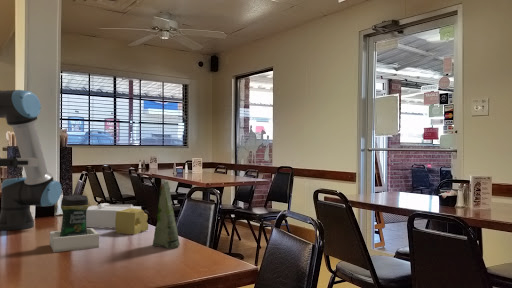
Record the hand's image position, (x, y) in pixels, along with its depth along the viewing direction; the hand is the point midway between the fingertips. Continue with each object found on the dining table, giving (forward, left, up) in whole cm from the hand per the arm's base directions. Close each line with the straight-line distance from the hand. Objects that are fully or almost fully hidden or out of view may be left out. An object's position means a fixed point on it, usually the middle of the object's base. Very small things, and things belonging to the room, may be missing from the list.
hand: (37, 162), depth 152 cm
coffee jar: (+4, +13, -31) cm, 34 cm away
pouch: (+21, +43, -32) cm, 57 cm away
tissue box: (-34, +34, -32) cm, 58 cm away
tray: (+4, +13, -32) cm, 35 cm away
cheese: (-12, +39, -32) cm, 52 cm away
